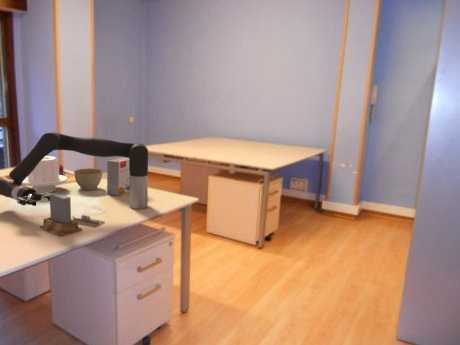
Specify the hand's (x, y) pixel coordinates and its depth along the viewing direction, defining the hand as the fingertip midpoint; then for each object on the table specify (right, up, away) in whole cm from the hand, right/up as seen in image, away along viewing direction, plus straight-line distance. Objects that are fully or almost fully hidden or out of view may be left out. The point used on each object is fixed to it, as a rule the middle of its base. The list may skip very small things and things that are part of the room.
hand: (44, 201), depth 171 cm
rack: (+9, -12, -4) cm, 15 cm away
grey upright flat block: (+9, -11, -4) cm, 14 cm away
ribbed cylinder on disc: (-27, +2, +55) cm, 61 cm away
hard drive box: (+16, +1, +59) cm, 61 cm away
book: (-42, +9, +83) cm, 93 cm away
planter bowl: (-4, +3, +64) cm, 64 cm away
